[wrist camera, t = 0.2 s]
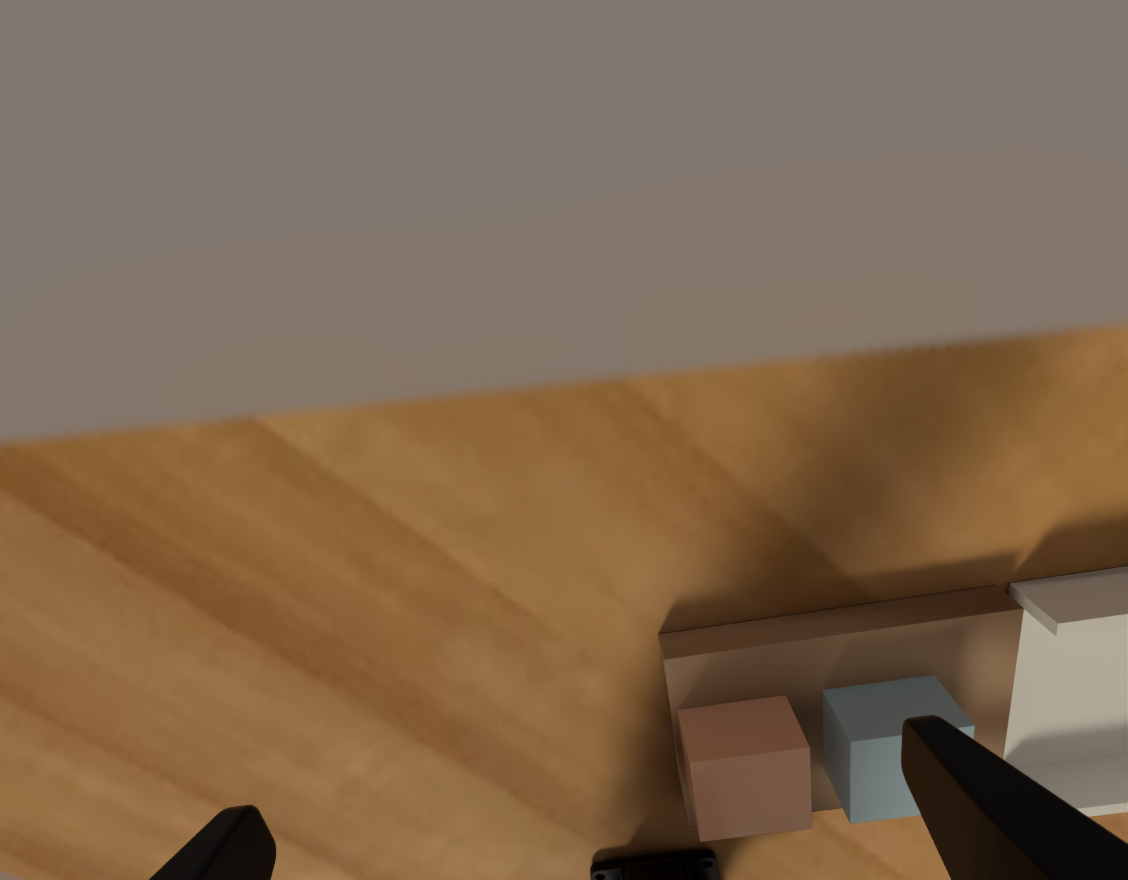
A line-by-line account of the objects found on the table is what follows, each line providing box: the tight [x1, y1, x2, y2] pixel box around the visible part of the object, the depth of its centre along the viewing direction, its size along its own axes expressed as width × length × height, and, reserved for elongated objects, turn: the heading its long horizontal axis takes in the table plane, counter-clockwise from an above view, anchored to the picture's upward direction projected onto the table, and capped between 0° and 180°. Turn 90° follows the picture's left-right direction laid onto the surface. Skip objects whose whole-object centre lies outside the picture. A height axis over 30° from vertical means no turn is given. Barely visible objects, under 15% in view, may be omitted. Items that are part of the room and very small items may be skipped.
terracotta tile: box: [677, 695, 812, 842], centre depth 24 cm, size 4×4×2 cm
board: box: [658, 585, 1024, 827], centre depth 25 cm, size 10×14×2 cm
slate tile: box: [822, 675, 975, 824], centre depth 23 cm, size 4×4×2 cm
